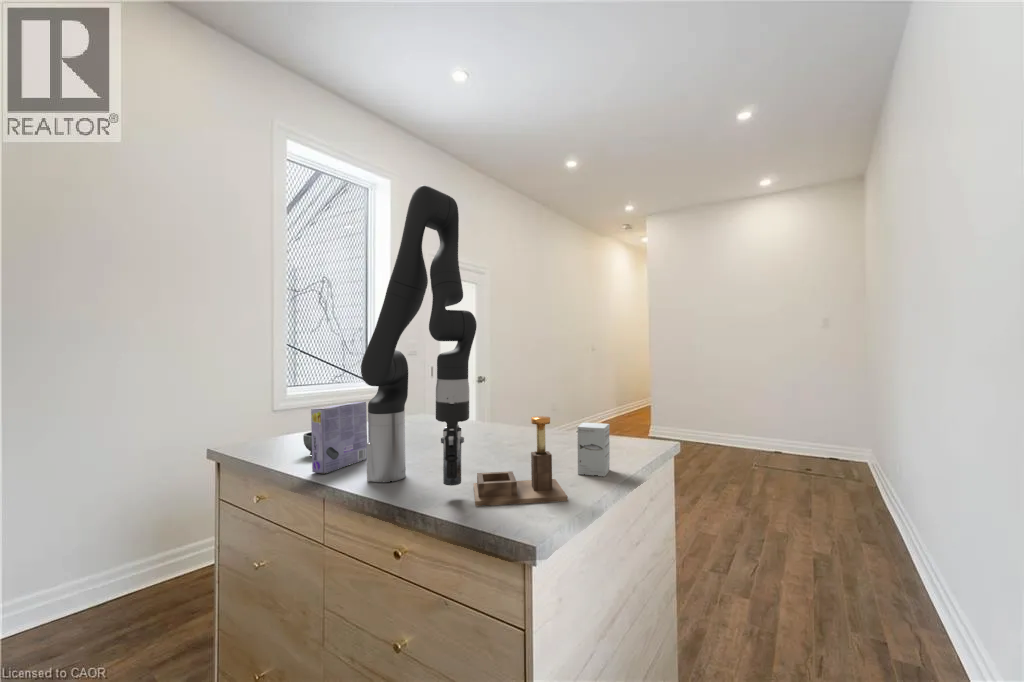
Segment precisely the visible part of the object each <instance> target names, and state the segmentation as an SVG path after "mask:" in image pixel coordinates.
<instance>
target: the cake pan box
mask: <svg viewBox="0 0 1024 682" xmlns="http://www.w3.org/2000/svg"><path fill="white" fill-rule="evenodd" d="M310 414H311V415H310V416H311V419H310V421H311V423H310V424H311V432H312V457H311V468H312V469H311V470H312V471H311V472H312V473H315V474H316V473H317V474H321V475H326V474H328V472H329V473H331V472H330V471H332V472H334V471H337V470H339V469H338V468H340V469H342V468H341V467H344V466H347V465H349V464H352V463H354V464H356V462H357V463H359V462H358V461H360V462H362V461H361V460H363V461H365V460H364V459H366V460H367V443H368V410H367V401H360V402H359V401H355V402H351V403H350V402H349V403H343V404H336V405H334V404H333V405H329V406H322V407H316V408H311V410H310ZM352 465H353V464H352ZM347 467H348V466H347ZM344 468H345V467H344ZM336 469H337V470H336ZM333 470H334V471H333ZM325 473H326V474H325Z"/></svg>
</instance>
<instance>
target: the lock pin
mask: <svg viewBox="0 0 1024 682" xmlns="http://www.w3.org/2000/svg"><path fill="white" fill-rule="evenodd" d="M530 419H531V420H530V424H532V425H535V426H536V451H537V455H546V450H547V449H546V425H550V424H551V417H550V416H544V415H539V416H538V415H537V416H532V417H531V418H530Z"/></svg>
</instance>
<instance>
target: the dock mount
mask: <svg viewBox="0 0 1024 682" xmlns="http://www.w3.org/2000/svg"><path fill="white" fill-rule="evenodd" d="M530 459H531V460H530V461H531V463H530V464H531V465H530V466H531V469H530V470H531V471H530V473H531V479H529V480H517V479H516V476H515V474H514V471H510V470H509V471H494V472H477V473H476V481H477V482H473V495H474V505H475V507H483V506H482V505H486V506H502V505H517V504H519V505H521V504H535V503H555V502H568V501H569V499H568V494H567V493H566V492H565V491H564V489H563V488H562V486H561V485H560V484H559V482H558V481H557V479H556V478H553V455H552V453H551V452H550V451H546V455H537V450H536V451H531V452H530Z"/></svg>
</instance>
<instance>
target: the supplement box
mask: <svg viewBox="0 0 1024 682" xmlns="http://www.w3.org/2000/svg"><path fill="white" fill-rule="evenodd" d="M610 448H611V447H610V423H600V422H581V423H580V424H579V425H577V475H584V474H585V475H586V476H594V475H598V476H597V477H602V476H605V475H606V476H607V474H608V473H609V471H610V459H611V457H610V453H611V452H610ZM608 470H609V471H608ZM607 472H608V473H607ZM585 475H584V476H585ZM606 476H605V477H606Z"/></svg>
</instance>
